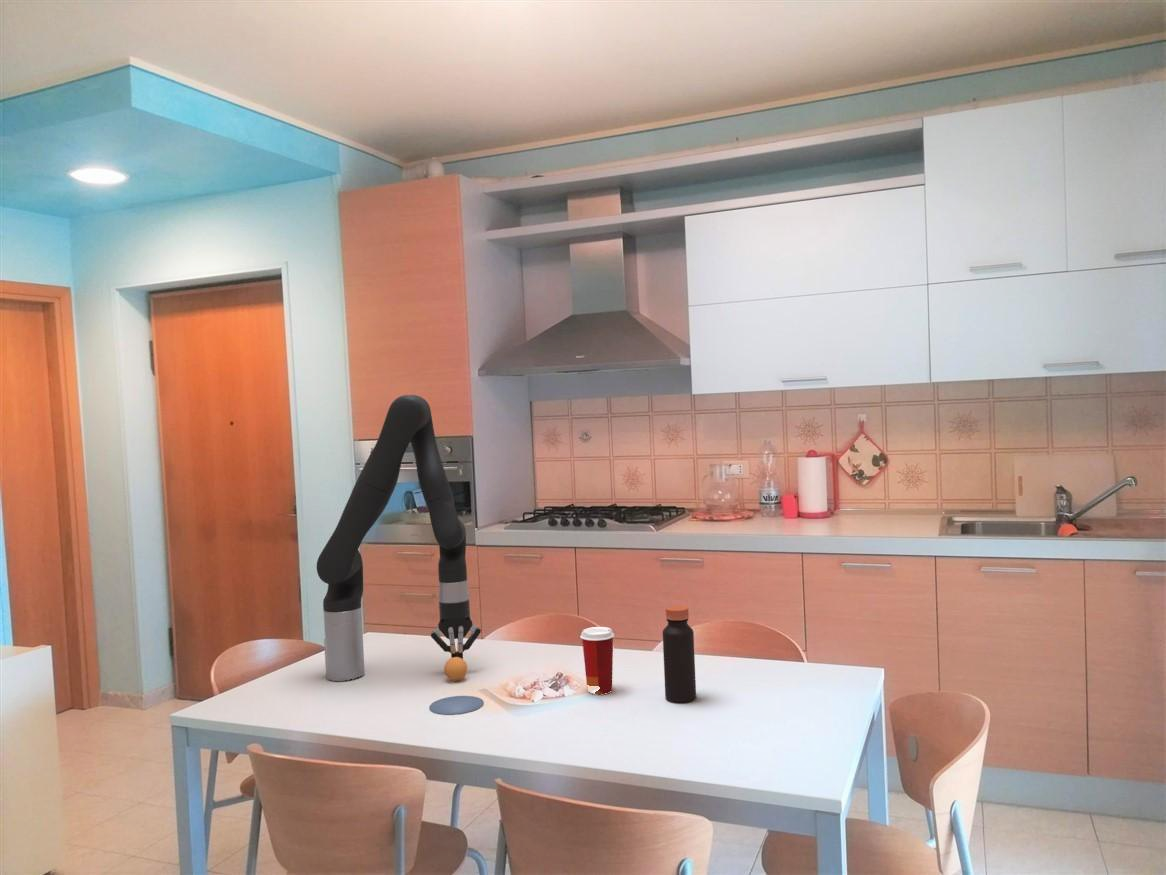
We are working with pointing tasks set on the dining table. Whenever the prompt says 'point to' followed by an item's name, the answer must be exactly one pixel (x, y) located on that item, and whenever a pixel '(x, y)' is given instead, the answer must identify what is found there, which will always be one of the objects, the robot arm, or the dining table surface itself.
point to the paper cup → (598, 657)
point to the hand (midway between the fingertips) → (457, 667)
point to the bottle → (679, 656)
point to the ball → (455, 668)
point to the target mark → (456, 705)
